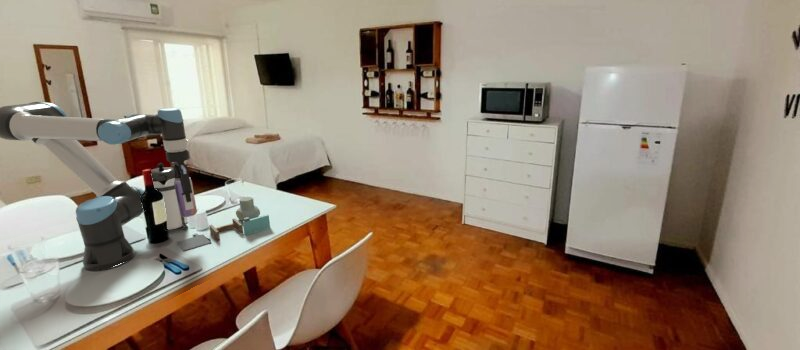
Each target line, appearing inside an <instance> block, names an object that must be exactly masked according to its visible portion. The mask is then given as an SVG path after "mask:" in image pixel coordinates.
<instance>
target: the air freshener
mask: <svg viewBox="0 0 800 350" xmlns="http://www.w3.org/2000/svg"><path fill="white" fill-rule="evenodd" d="M235 214H236V215H235V216H236V217H237V219H238V220H240V221H242V222H243V221H244V220H243V218H246V217H249V218H250V219H253V218H257V217H260V215H261V210H260V208H259V207H258V206H256V205H255V203H254V197H252V196H245V197H241V198H240V199H239V208H238V209H236V211H235Z"/></svg>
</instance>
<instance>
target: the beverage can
mask: <svg viewBox="0 0 800 350" xmlns="http://www.w3.org/2000/svg"><path fill="white" fill-rule="evenodd" d="M189 178H190V183H191V188H192V193H191V196H192V201H193V207H194V209H190V210H186V209H185V204H184V198H183V195H181V194H182V193H183V190H182V186H181V181H180V178H178V179H177V178H176V179H174V186H175V191H176V196H177V201H178V207H179V212H180V215H181V216H182V217H187V218H189V217H194V216H195V215H196V214H197V213H198V210H197V204H196V198H195V192H194V188H193V187H194V186H193V181H192V179H191V177H190V176H189Z"/></svg>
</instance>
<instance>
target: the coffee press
mask: <svg viewBox="0 0 800 350" xmlns="http://www.w3.org/2000/svg"><path fill="white" fill-rule="evenodd" d="M150 170H151V172H152V178H153V183H154V187H155V189H157V190H158V191H160V192H161V193H162V194H163V197H164V202H165V208H166V214H167V229H168V230H167V231H170V230H176V229H179V228H181V229H182V230H183V231H186V230H188V229H189V226H188V225H187V222H188V217H182V216H181V215H180V212H179V207H178V201H177V196H176V191H175V186H174V179H175V175H174V170H173V166H172V167H170V166H169V167H167V166H166V167H165V165H164V163H162V162H160V163H158V164H157V167H156V168H153V169H150Z"/></svg>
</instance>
